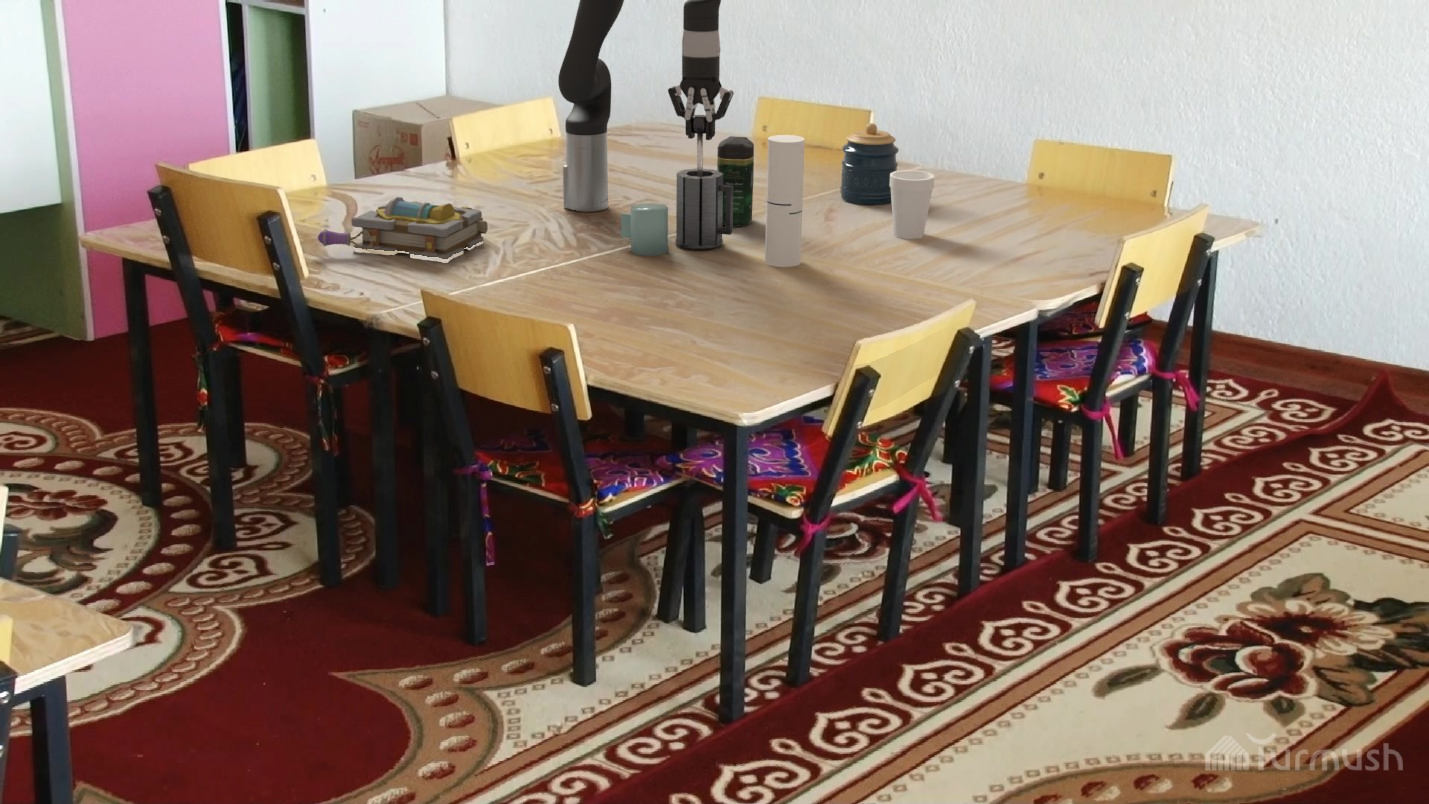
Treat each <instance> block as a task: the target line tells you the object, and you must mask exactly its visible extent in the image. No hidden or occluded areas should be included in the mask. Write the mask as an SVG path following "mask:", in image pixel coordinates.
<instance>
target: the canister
mask: <svg viewBox="0 0 1429 804" xmlns="http://www.w3.org/2000/svg"><path fill="white" fill-rule="evenodd" d="M845 139H846V141H847V143H846V144H844V145H842V147H841V148H842V149H841V150H842V151H843V152H844V153H843V159H842V160H841V181H840V182H841V184H840V198H841V199H842V200H843V201H845V202H848V203H851V204H856V205H857V204H858V205H868V206H870V205H875V206H876V205H884V204H889V203H892V201H891V188H890V187H889V186H890V173H892V172H894V171H898V166H899V164H898V161H897V154H898V153H899V152H900V151H899V150H900V149H899V148H898V147H897V146H896V145H895V144H894V143H895V142H896V138H895V137H894V136H892V135H891V134H890V132H887V131H884V130H879V129H878V127H877V125H876V124H875V123H873V122H871V123H870V122H869V123H868V124H866V126H865V129H860V130H856V131H855V130H854V131H853V132H852V133H851V134H849V135H847V136H846V138H845Z"/></svg>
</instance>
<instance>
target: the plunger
mask: <svg viewBox="0 0 1429 804" xmlns="http://www.w3.org/2000/svg"><path fill="white" fill-rule="evenodd" d="M706 122H707V118H706V114H695V115H694V116H693V119H692V132H693V133H695V135H696V134H697V135H696V141H697V142H696V144H697V145H696V169H697V177H703V169H704V134H705V135H706Z"/></svg>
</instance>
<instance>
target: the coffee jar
mask: <svg viewBox="0 0 1429 804" xmlns="http://www.w3.org/2000/svg"><path fill="white" fill-rule="evenodd" d="M754 145H755V144H754V142H753V141H752V140H750V139H748V137H746V136H732V135H731V136H728V137H727V138H725V139H722V140H721V141H720V142H719V143H718V145H717V147H716V149H717V155H716V156H717V157H716V158H717V159H716V160H717V161H716V165H717V166H716V170H717V171H719V172H721V173H723V185H733V228H737V227H740V226H744V227H746V226H748V225H750V223H751V221H752V219H753V199H754V198H753V196H754V194H753V193H754V177H755V176H754V173H755V172H754V171H755V170H754V167H755V165H754V163H755V146H754ZM722 226H726V192H725V191H723V217H722Z"/></svg>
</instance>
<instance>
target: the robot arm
mask: <svg viewBox="0 0 1429 804" xmlns="http://www.w3.org/2000/svg"><path fill="white" fill-rule="evenodd" d="M721 2H722V0H686V1H684V4H683V9H682V10H683V11H682V12H683V14H682V15H683V16H682V17H683V18H682V19H683V22H682V23H683V26H682V27H683V31H682V32H683V33H682V39H681V81H680V82H679V85H673V86H671V87H669V88H668V89H667V93H668V95H669V97H670V100H671V104H672V105H673V108H674V112H675V114H676V115H677V117H682V118H683V120H685V135H686V136H687V139H690V140H691V139H694V138H695V137H696V133H693V132H692V119H693V116H694V115H696V108H697V107H698V104H700V105H702V106H703V109H704V111H705V115H706V118H707V122H706V133H705V141H711V140H712V139H713V138H714V137H715V135H716V121H718V120H721V119H723V118H724V117H725V116H726V113H727V110H728V108H729V106H730V104H731V101H732V100H733V96H734V91H733V90H728V89H726V88H724V87H722V83H721V82H720V75H721V74H720V69H721V68H720V63H721V59H720V58H721V56H720V55H721V41H720V33H719V31H720V30H719V28H720V27H719V26H720V23H719V22H720V21H719V20H720V18H719V17H720V6H721ZM624 3H625V0H579V3H578V5H577V6H578V7H577V10H576V15H575V20H574V23H573V28H572V33H571V36H570V40H569V44H568V46H567V49H566V51H565V55H564V57H563V60H562V63H561V67H560V69H559V73H558V88H559V92H560V94H561V96H562V97H563V98H564V100H566V101H567V102H569V103H571V104H573V107H572V108H571V111H570V113H569V115H568V116H567V117H566V119H565V125H564V126H565V128H564V129H565V160H566V161H565V162H566V164H565V165H562V183H563V185H562V186H563V187H562V188H563V189H562V192H563V194H562V195H563V208H564V207H565V208H564V209H569V210H571V211H575V210H576V211H575V212H598V211H603V210H606V209H608V208H609V177H608V173H609V171H608V169H609V168H608V166H609V165H608V161H609V160H608V123H609V120H610V117H611V111H612V110H611V109H612V77H611V72H610V69H609V68H608V66H607V64H606V62H605V61H604V60H602V59H601V58H599V57H600V52H601V49H602V46H603V44H604V41H605V39H606V38H607V36H608V34H609V33H610V31H611V29H612V28H613V25H615V22H616V20H617V18H618V17H619V14H620V12H621V11H622V8H623V5H624ZM682 93H683V95H684V96H685V97H686V103H685V104H684V102H683V100H682ZM718 94H719V98H720V100H721V101H720V103H719V105H718V107H717V110H716V102H715V99H716V97H717V96H718Z"/></svg>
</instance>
